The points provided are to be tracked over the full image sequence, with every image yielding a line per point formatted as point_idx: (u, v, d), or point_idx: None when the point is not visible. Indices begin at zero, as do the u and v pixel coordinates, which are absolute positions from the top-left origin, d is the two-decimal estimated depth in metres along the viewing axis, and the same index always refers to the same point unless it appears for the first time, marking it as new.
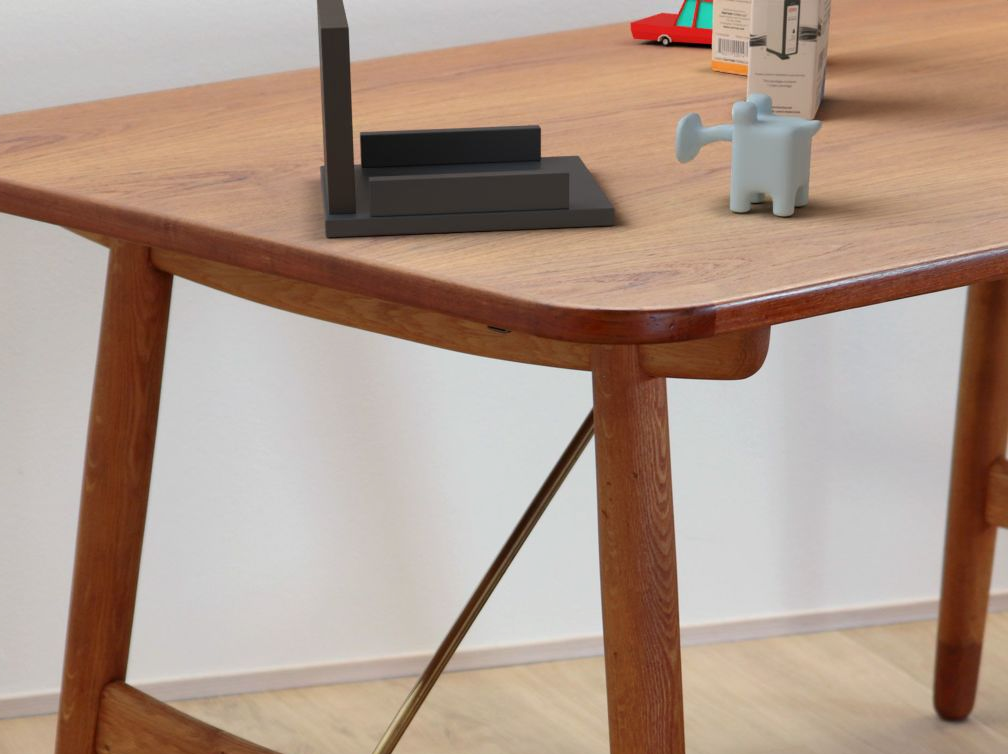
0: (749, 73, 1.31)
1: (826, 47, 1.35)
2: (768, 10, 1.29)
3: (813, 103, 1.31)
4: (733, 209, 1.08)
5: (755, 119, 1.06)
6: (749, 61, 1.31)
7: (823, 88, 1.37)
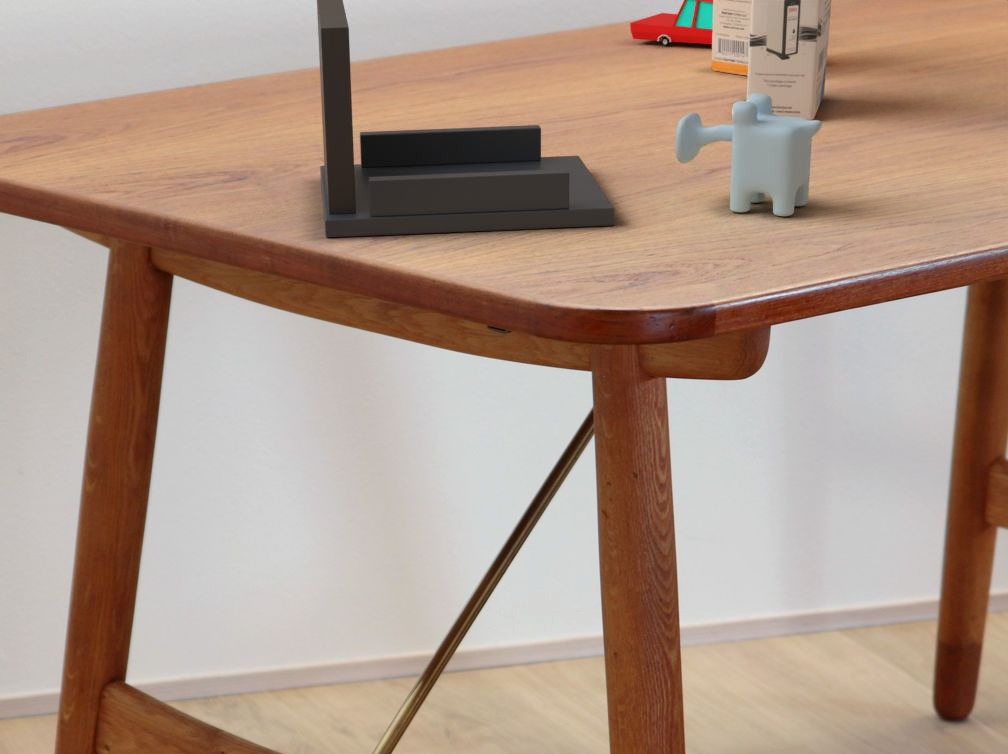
0: (749, 73, 1.31)
1: (826, 47, 1.35)
2: (768, 10, 1.29)
3: (813, 103, 1.31)
4: (733, 209, 1.08)
5: (755, 119, 1.06)
6: (749, 61, 1.31)
7: (823, 88, 1.37)
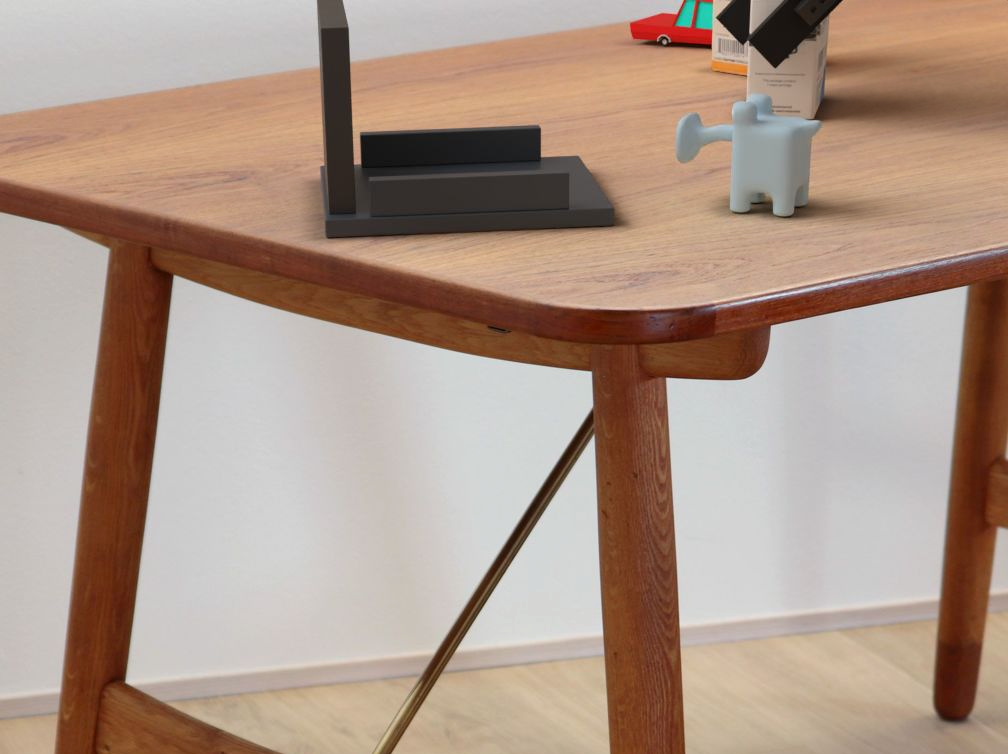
0: (749, 73, 1.31)
1: (826, 47, 1.35)
2: (768, 9, 1.29)
3: (813, 102, 1.31)
4: (733, 209, 1.08)
5: (755, 119, 1.06)
6: (749, 61, 1.31)
7: (823, 88, 1.37)
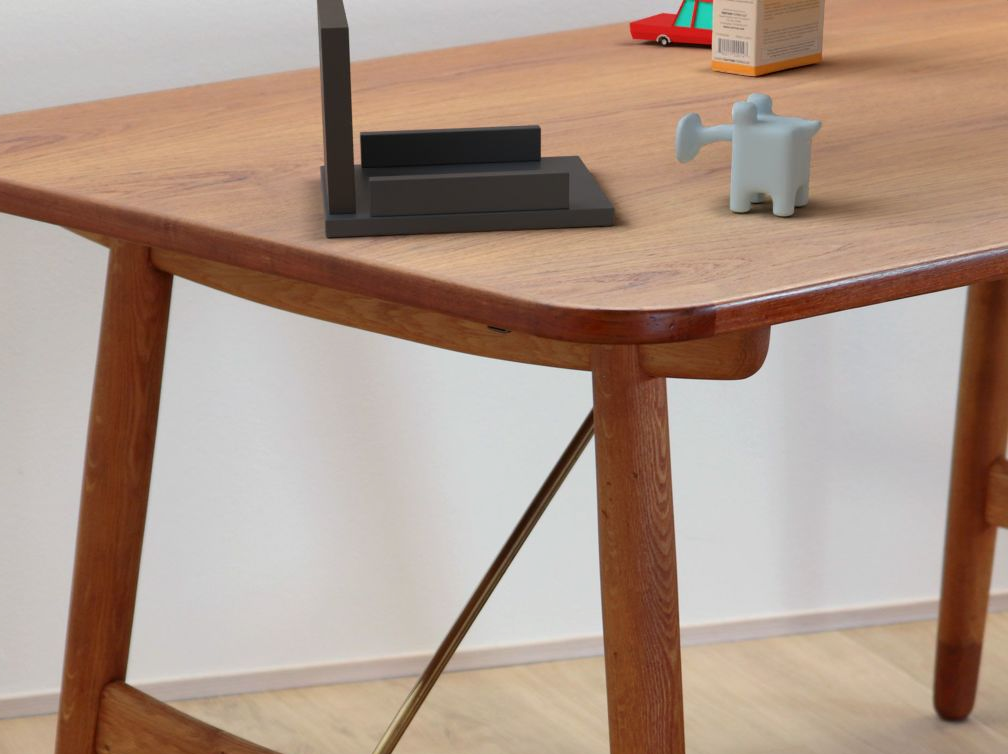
0: None
1: None
2: None
3: None
4: (733, 209, 1.08)
5: (755, 119, 1.06)
6: None
7: None
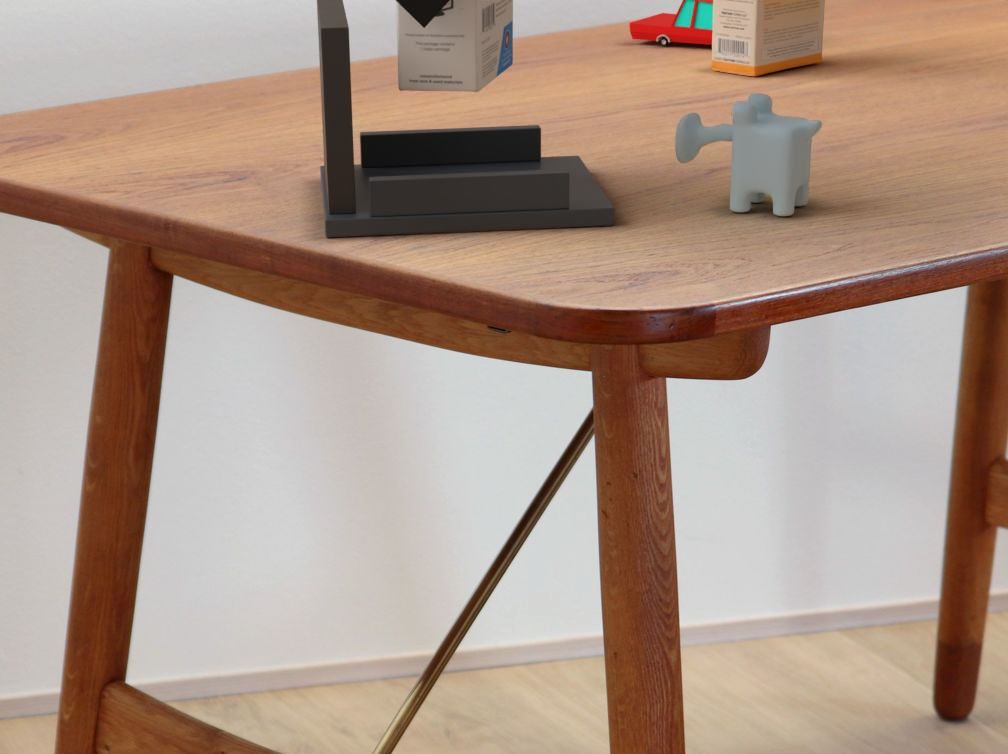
0: (398, 34, 1.05)
1: (504, 2, 1.09)
2: None
3: (477, 71, 1.05)
4: (733, 209, 1.08)
5: (755, 119, 1.06)
6: (397, 19, 1.05)
7: (508, 54, 1.11)
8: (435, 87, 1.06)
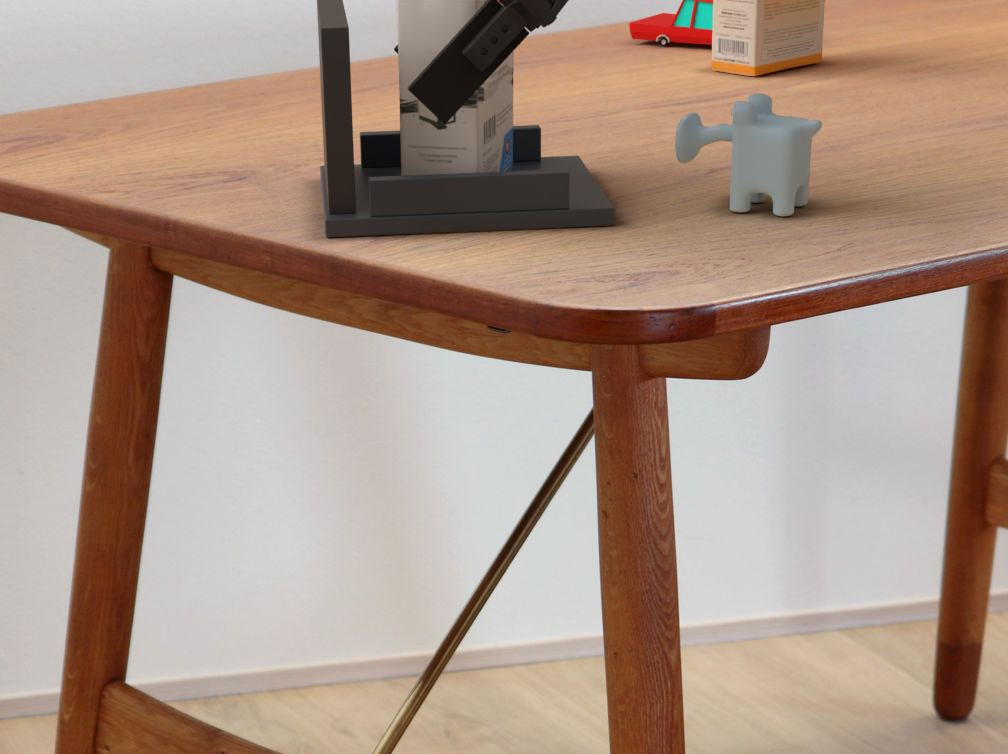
0: (402, 145, 1.08)
1: (505, 111, 1.11)
2: (418, 70, 1.06)
3: None
4: (733, 209, 1.08)
5: (755, 119, 1.06)
6: (401, 131, 1.08)
7: (509, 159, 1.14)
8: None
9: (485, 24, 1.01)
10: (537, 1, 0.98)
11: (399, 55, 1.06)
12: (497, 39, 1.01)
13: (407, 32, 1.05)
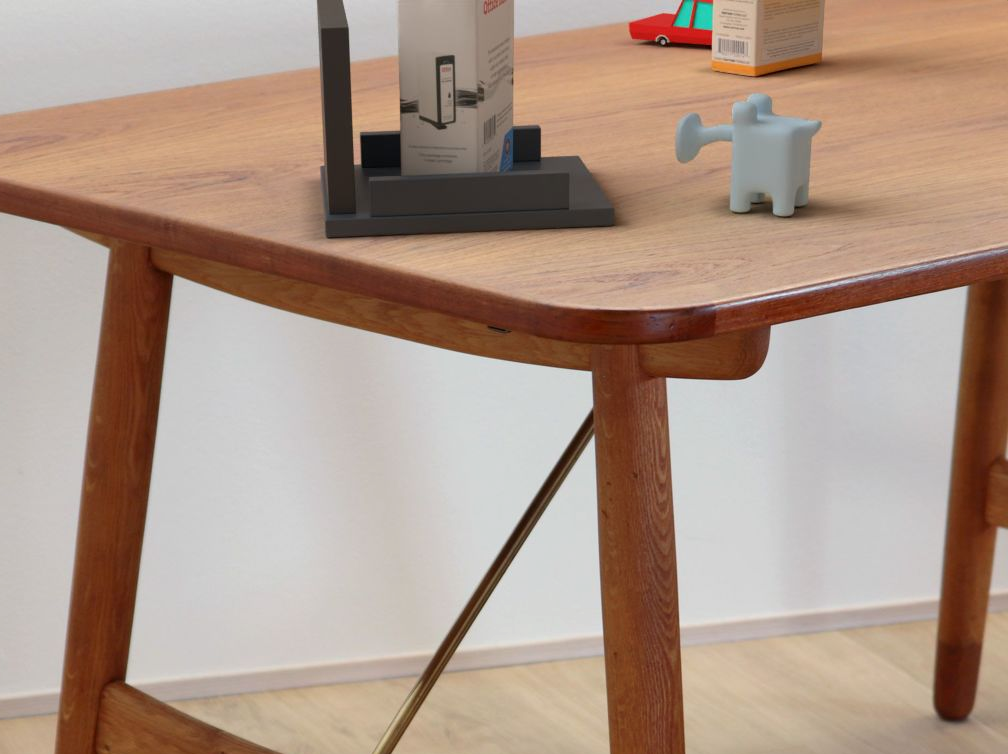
0: (402, 145, 1.08)
1: (505, 111, 1.11)
2: (418, 69, 1.06)
3: None
4: (733, 209, 1.08)
5: (755, 119, 1.06)
6: (401, 131, 1.08)
7: (509, 159, 1.14)
8: None
9: None
10: None
11: (399, 55, 1.06)
12: None
13: (408, 32, 1.05)
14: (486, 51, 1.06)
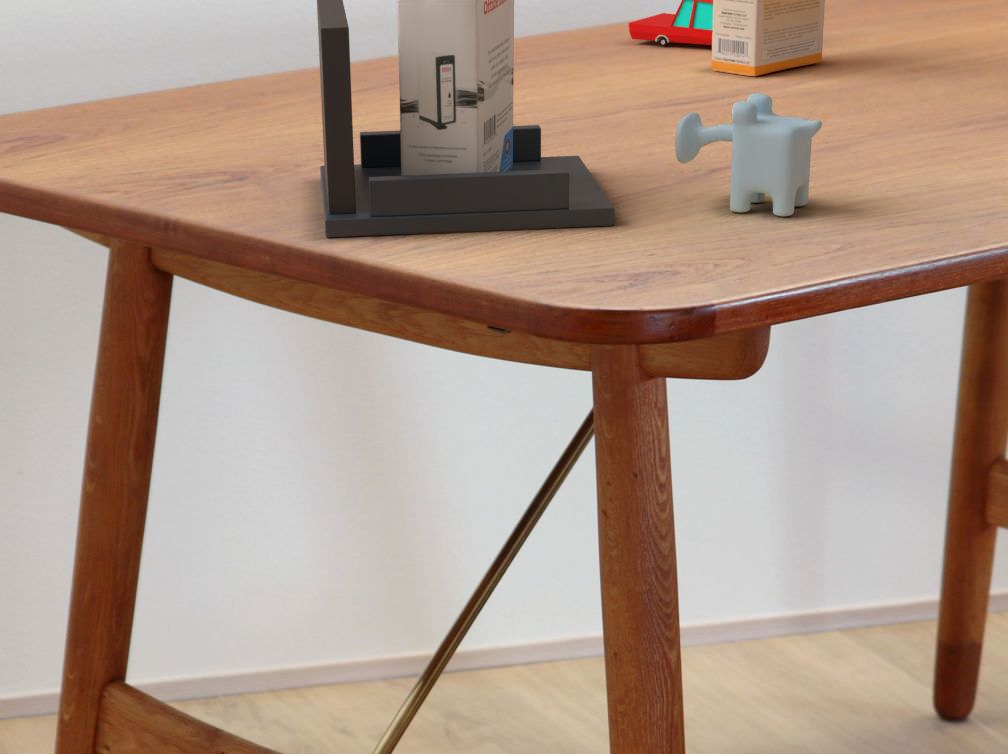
0: (402, 145, 1.08)
1: (505, 111, 1.11)
2: (418, 69, 1.06)
3: None
4: (733, 209, 1.08)
5: (755, 119, 1.06)
6: (401, 131, 1.08)
7: (509, 159, 1.14)
8: None
9: None
10: None
11: (399, 55, 1.06)
12: None
13: (408, 32, 1.05)
14: (486, 51, 1.06)
